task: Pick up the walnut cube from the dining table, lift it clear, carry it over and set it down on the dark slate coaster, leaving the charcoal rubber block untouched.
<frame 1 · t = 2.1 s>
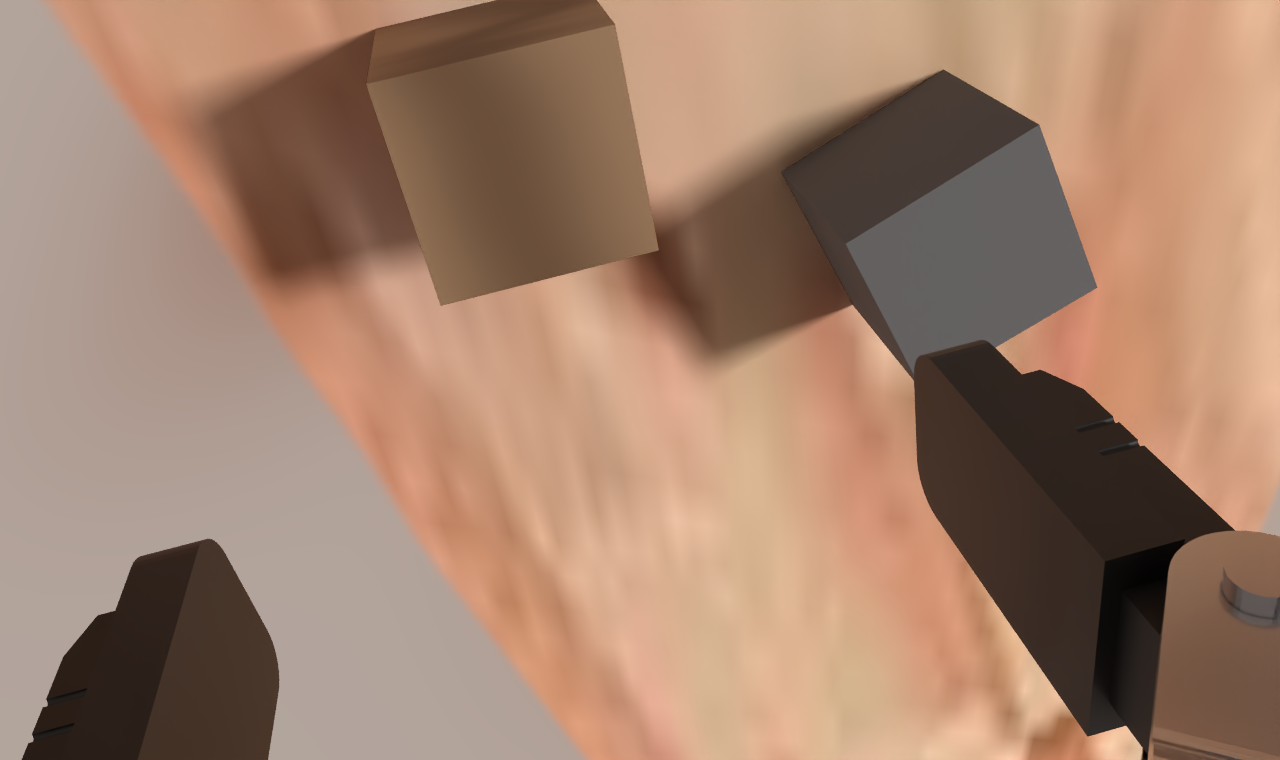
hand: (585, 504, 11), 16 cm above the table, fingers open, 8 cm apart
walnut cube: (505, 105, 25), on the table
charcoal block: (894, 193, 28), on the table
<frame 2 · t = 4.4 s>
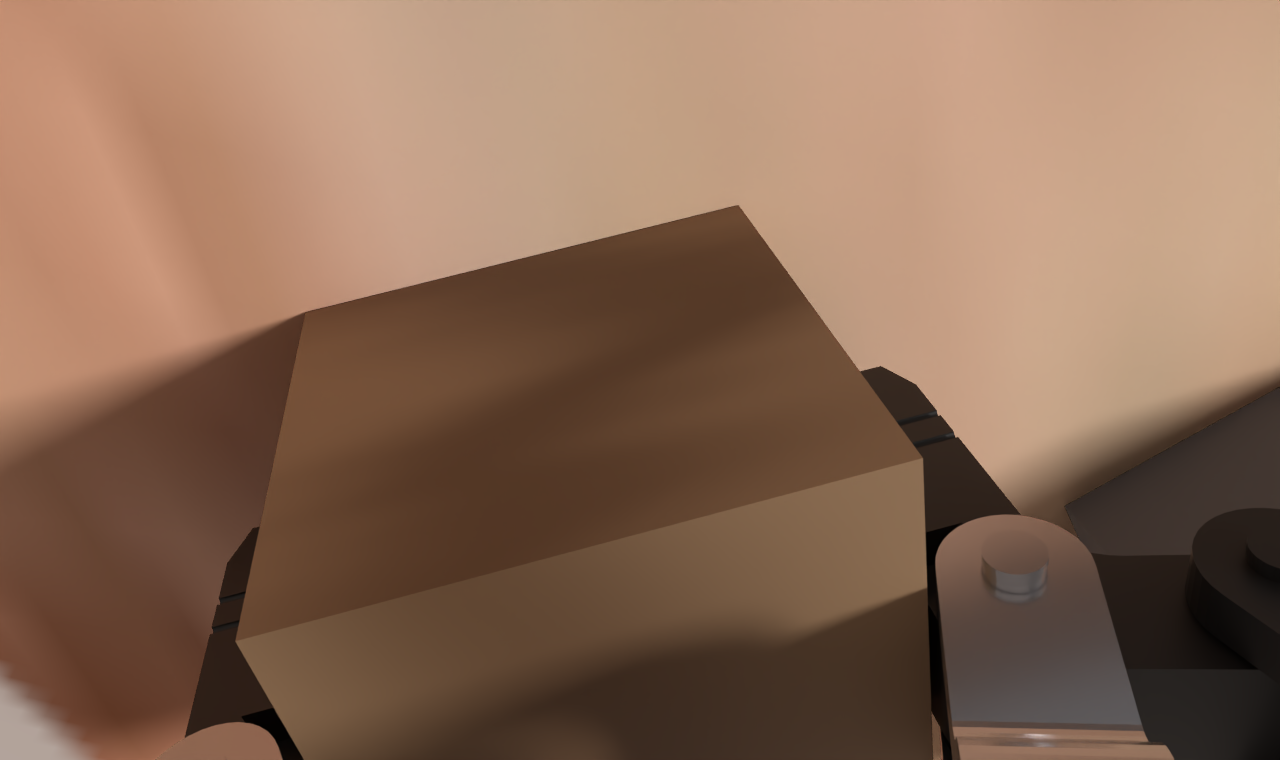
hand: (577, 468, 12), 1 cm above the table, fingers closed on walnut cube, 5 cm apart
walnut cube: (572, 434, 13), on the table, touching gripper
charcoal block: (1246, 522, 16), on the table
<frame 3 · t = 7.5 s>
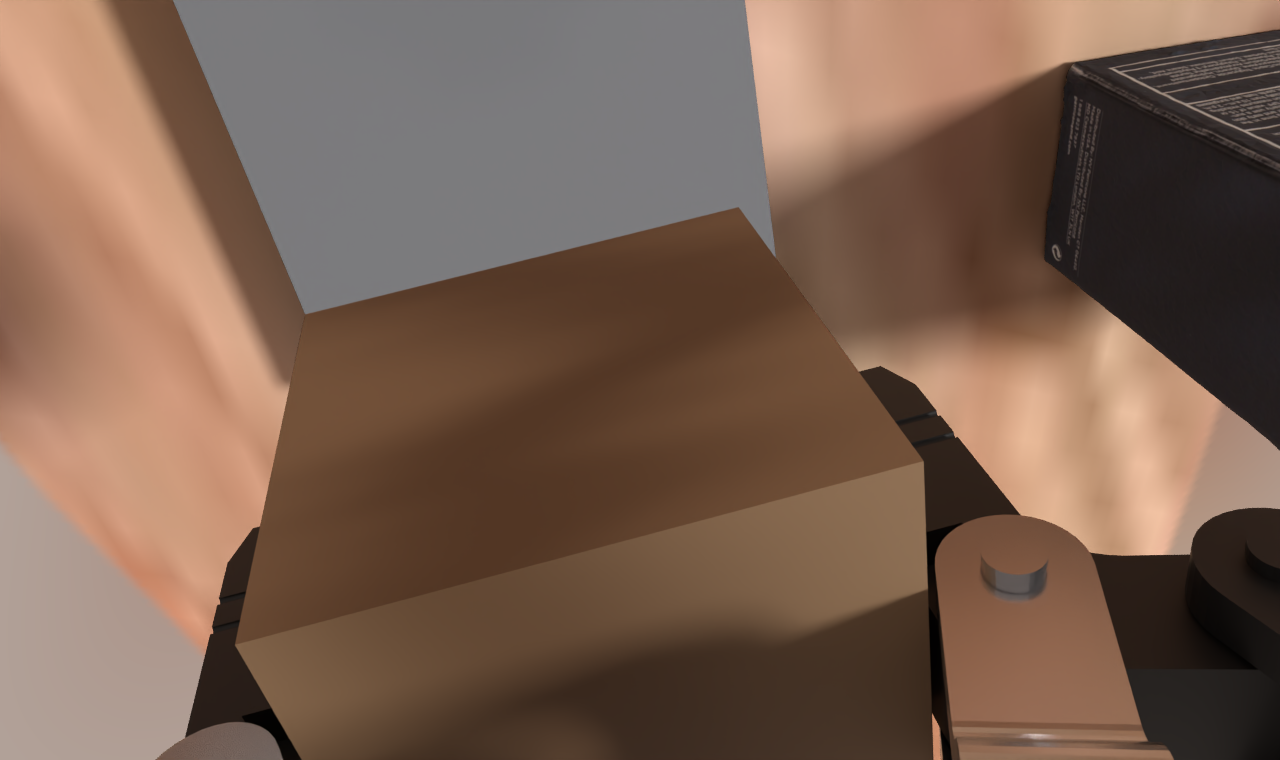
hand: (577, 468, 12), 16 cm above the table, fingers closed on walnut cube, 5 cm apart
slate coaster: (501, 106, 25), on the table
walnut cube: (572, 436, 13), point 15 cm above the table, touching gripper
small box: (1210, 142, 30), on the table
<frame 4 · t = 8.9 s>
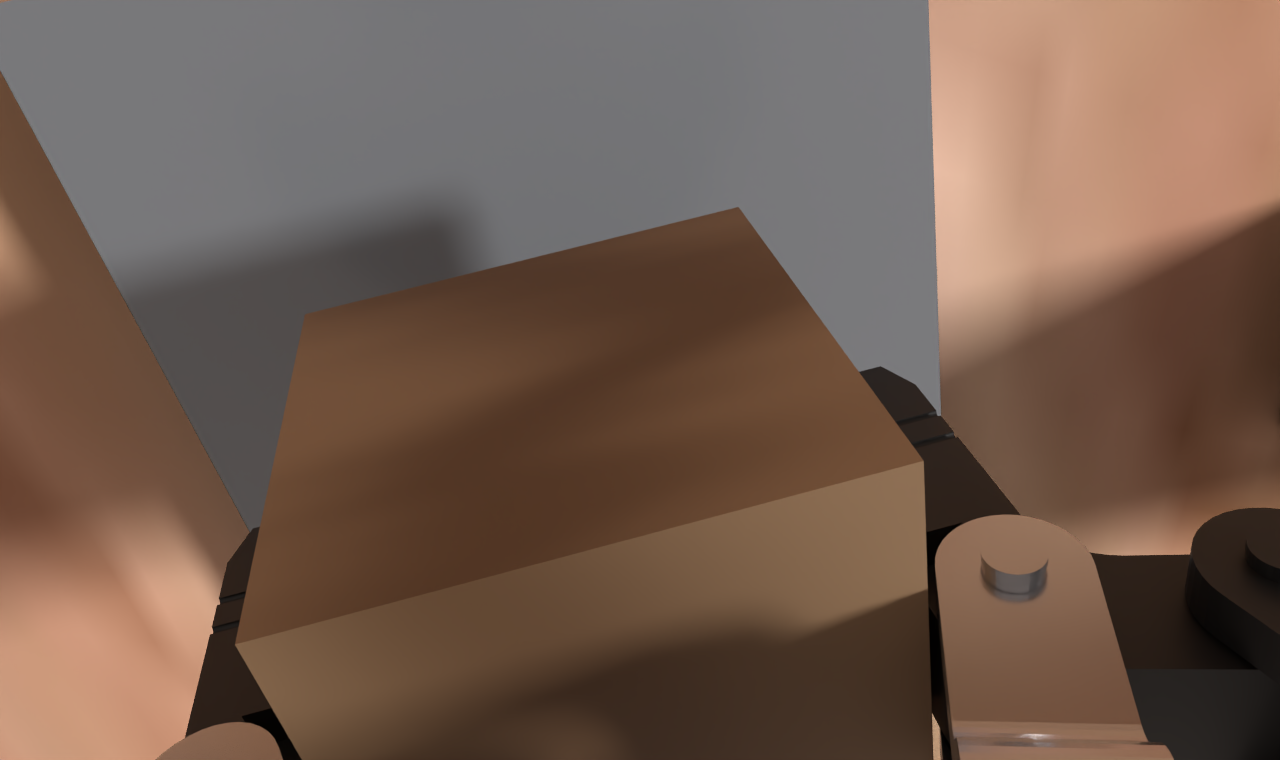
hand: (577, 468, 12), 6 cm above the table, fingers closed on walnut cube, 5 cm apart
slate coaster: (553, 260, 17), on the table
walnut cube: (572, 436, 13), point 5 cm above the table, touching gripper
when the fingers open (4 cm above the table, at t = 10.4 s): walnut cube stays where it is, resting on slate coaster.
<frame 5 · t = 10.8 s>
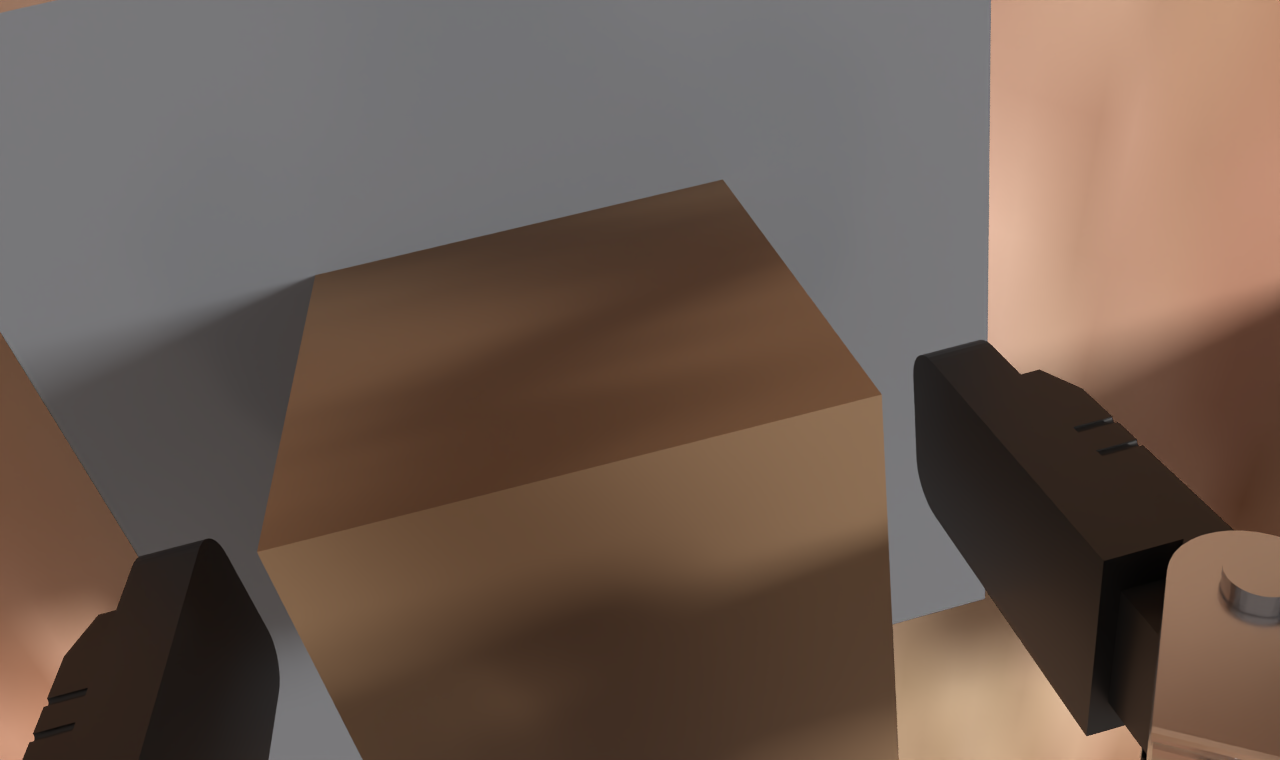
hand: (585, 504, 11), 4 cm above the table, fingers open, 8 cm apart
slate coaster: (546, 328, 15), on the table
walnut cube: (565, 397, 13), point 2 cm above the table, touching slate coaster
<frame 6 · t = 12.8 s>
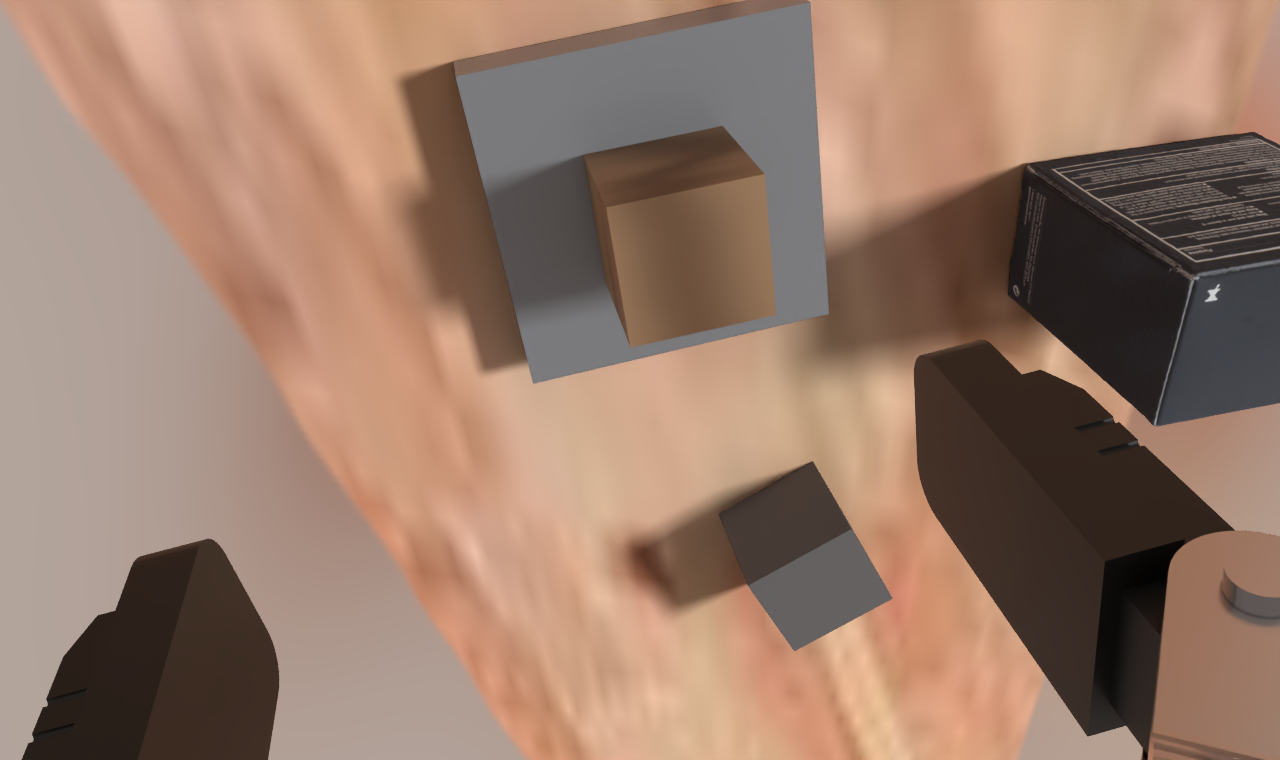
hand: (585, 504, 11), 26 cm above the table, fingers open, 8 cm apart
slate coaster: (650, 188, 38), on the table
walnut cube: (662, 206, 36), point 2 cm above the table, touching slate coaster
charcoal block: (786, 520, 48), on the table
small box: (1123, 216, 43), on the table
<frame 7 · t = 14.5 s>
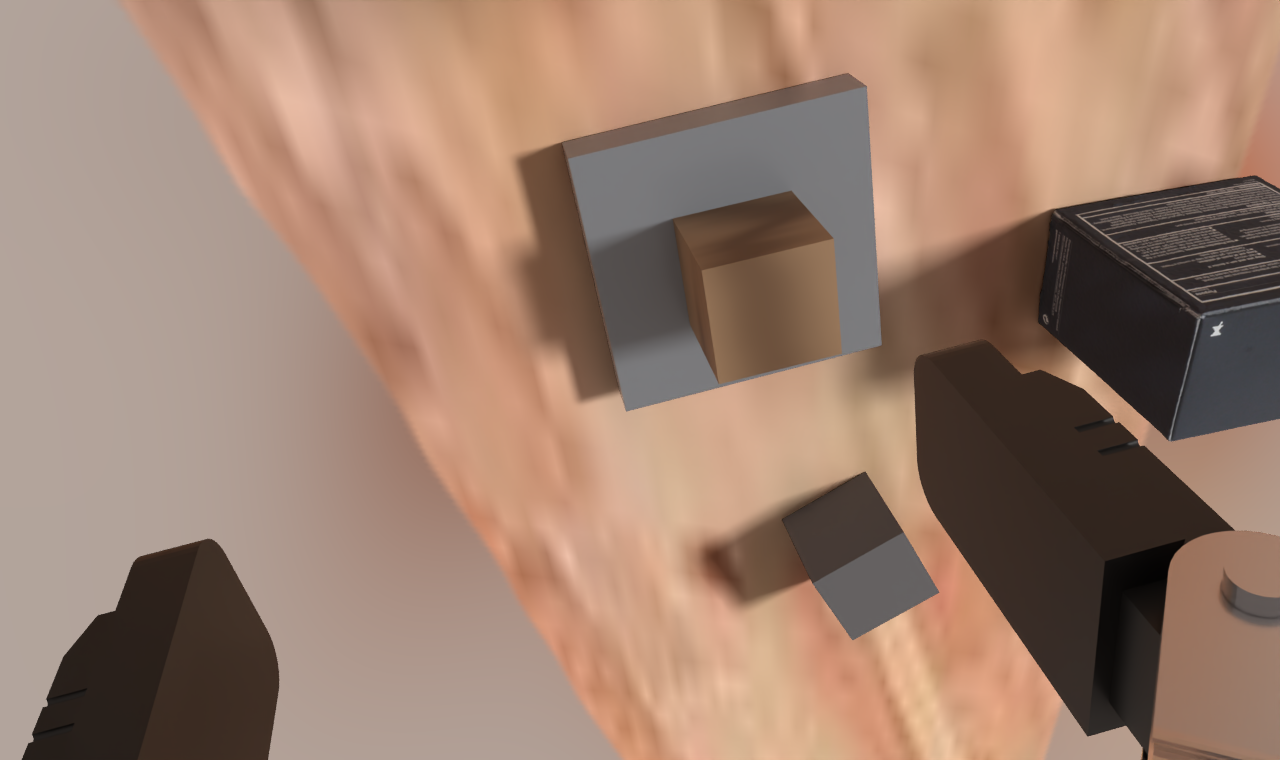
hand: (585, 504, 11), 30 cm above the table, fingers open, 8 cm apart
slate coaster: (726, 241, 44), on the table
walnut cube: (739, 259, 42), point 2 cm above the table, touching slate coaster
charcoal block: (841, 524, 54), on the table
small box: (1140, 250, 48), on the table
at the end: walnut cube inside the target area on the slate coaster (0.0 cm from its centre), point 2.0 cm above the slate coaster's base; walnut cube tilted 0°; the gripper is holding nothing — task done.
